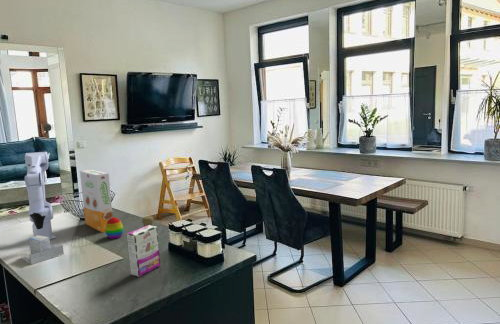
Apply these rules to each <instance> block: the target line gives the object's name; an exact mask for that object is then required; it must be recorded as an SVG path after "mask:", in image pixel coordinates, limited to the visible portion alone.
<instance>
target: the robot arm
mask: <svg viewBox="0 0 500 324" xmlns="http://www.w3.org/2000/svg"><path fill="white" fill-rule="evenodd" d="M24 160H25V161H24V162H25V165H26V168H27V172H26V175H24V183H25V187H26V192H27V195H28V196H27V197H28V203H29V204H28V205H29V207H28V210H27V211H26V212H27V214H28V215H29V222H31V223H32V227H31V228H32V234H33V236H32V237H34V236H37V235H40V236H45V237H49V240H53V239H56V238H57V236H55V235H53V229H52V220H53V219H54V210H53V206H52V203H51V202H49V201H47V200H46V190H45V188H46V187H45V171H46V170H48V169H49V155H48V151H38V152H26V153H25V154H24Z"/></svg>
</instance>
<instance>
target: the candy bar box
mask: <svg viewBox="0 0 500 324" xmlns="http://www.w3.org/2000/svg"><path fill="white" fill-rule="evenodd" d="M126 240H127V250H128V258H129V259H128V260H129V267H130V275H131V276H134V277H137V278H140V277H143V276H144V275H146V274H148V273H150V272H151V271H154V270H155V269H157V268H159V267H161V257H160V255H161V254H160V246H159V245H160V244H159V236H158V226H156V225H153V226H151V225H148V226H145V227H144V226H143V227H140V228H138V229H136V230H132V231H129V232H128V233H126Z"/></svg>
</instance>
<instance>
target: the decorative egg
mask: <svg viewBox="0 0 500 324" xmlns="http://www.w3.org/2000/svg"><path fill="white" fill-rule="evenodd" d="M123 233H124V226H123V223H122V222H121V220H120V219H119V218H118V217H115V216H114V217H112V218H110V219H109V220H108V222H107V224H106V232H105V234H106V236H107V237H108V239H111V240H115V239H118V238H120V237H122V236H123Z"/></svg>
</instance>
